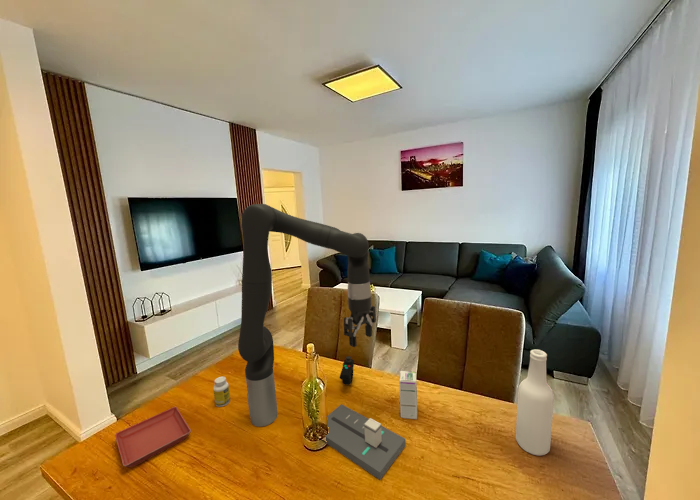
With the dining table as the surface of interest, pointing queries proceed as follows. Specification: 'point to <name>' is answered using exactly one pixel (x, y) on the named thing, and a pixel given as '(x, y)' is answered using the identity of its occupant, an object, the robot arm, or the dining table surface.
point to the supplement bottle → (221, 392)
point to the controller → (347, 371)
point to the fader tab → (373, 432)
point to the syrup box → (408, 394)
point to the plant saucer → (151, 436)
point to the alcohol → (535, 407)
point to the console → (362, 441)
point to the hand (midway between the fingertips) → (361, 340)
